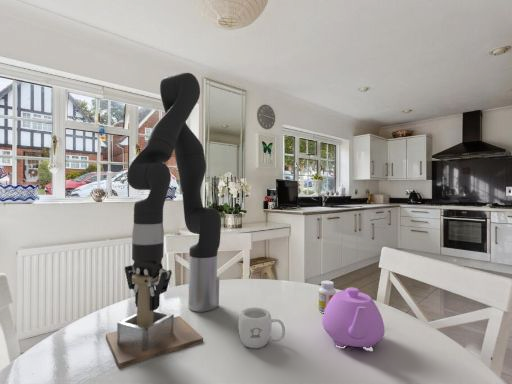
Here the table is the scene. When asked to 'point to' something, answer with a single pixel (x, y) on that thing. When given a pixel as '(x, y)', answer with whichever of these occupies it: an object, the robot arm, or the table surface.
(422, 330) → the table surface
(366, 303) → the teapot
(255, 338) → the mug
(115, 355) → the walnut board
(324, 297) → the supplement bottle
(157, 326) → the collar
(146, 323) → the handle
